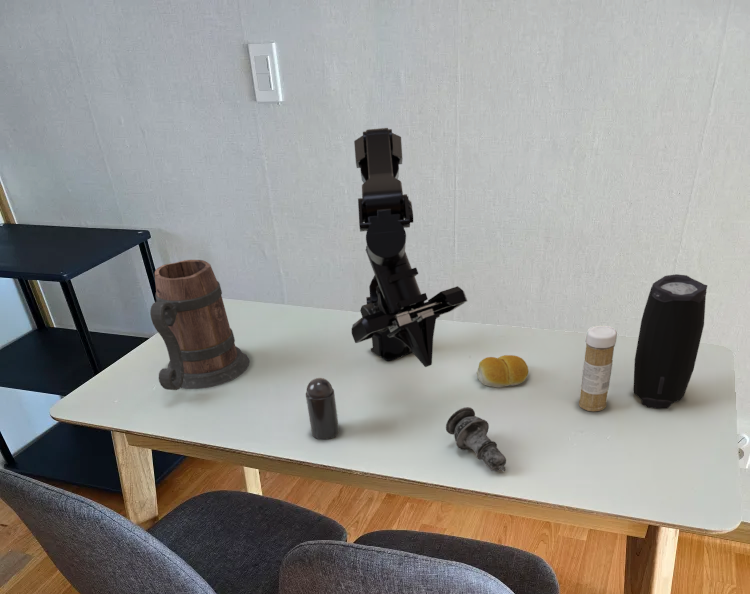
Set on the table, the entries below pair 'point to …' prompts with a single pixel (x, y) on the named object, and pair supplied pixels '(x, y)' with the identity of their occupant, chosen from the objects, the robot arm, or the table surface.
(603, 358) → the sprinkles bottle
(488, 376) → the bread roll
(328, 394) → the pepper pot
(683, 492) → the table surface
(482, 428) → the grey turned piece
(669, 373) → the portable speaker
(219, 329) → the tankard
